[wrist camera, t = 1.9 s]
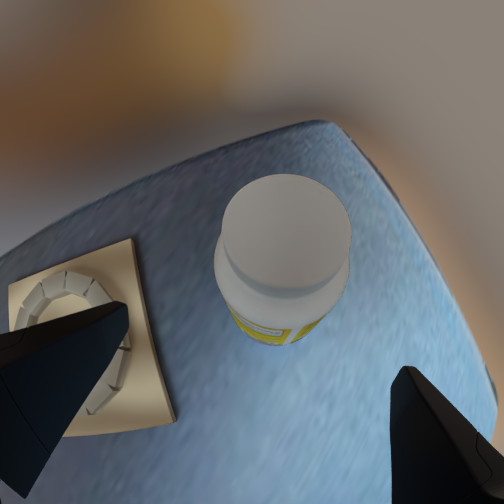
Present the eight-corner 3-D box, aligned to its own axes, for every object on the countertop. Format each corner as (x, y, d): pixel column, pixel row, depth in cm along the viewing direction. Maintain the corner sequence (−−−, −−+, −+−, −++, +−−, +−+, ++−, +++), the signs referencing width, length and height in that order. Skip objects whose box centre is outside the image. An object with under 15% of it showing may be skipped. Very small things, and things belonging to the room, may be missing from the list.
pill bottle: (307, 254, 22) (340, 150, 12) (328, 335, 19) (396, 288, 9) (224, 270, 21) (193, 171, 11) (239, 355, 19) (213, 328, 9)
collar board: (176, 421, 17) (167, 425, 15) (34, 436, 16) (19, 438, 14) (133, 242, 23) (124, 231, 21) (13, 288, 21) (0, 280, 19)
